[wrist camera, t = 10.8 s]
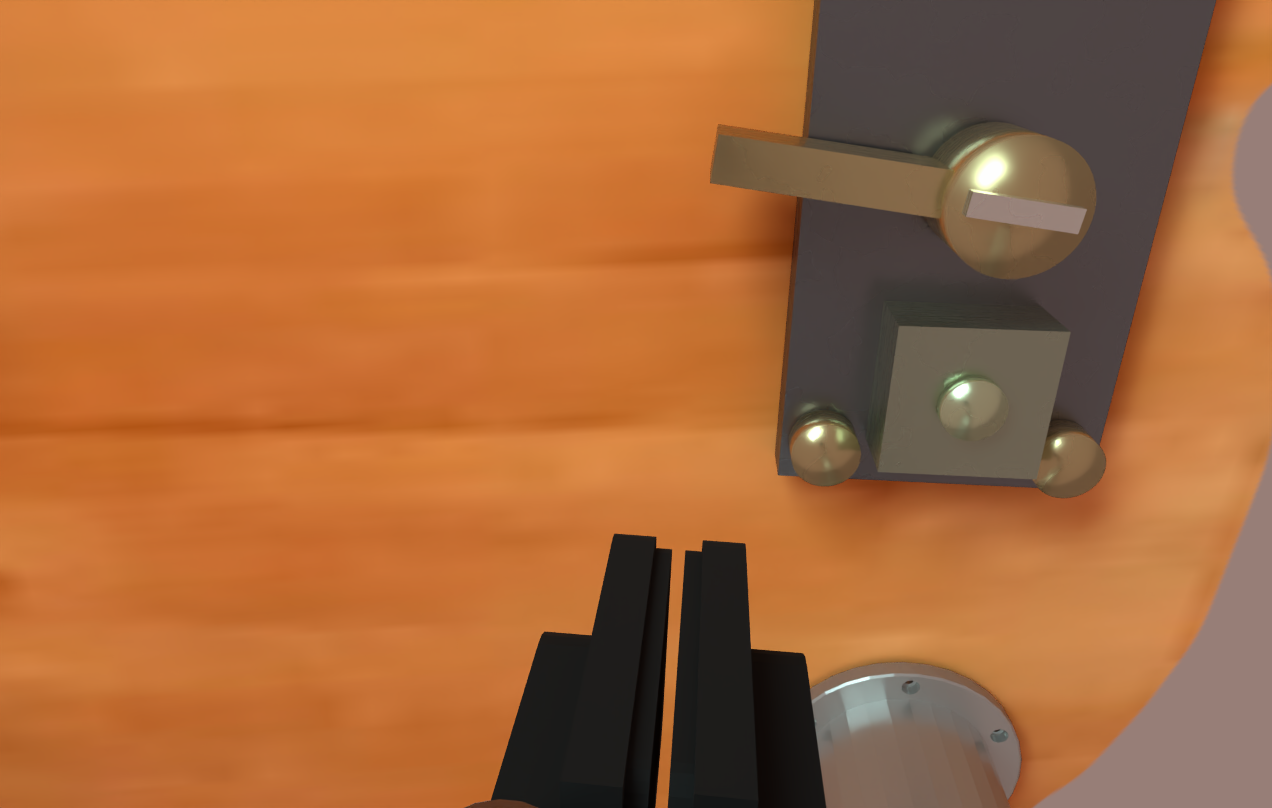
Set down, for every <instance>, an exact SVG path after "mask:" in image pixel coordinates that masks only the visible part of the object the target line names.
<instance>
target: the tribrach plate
mask: <svg viewBox="0 0 1272 808" xmlns="http://www.w3.org/2000/svg"><path fill="white" fill-rule="evenodd" d="M1215 3H1216V0H814V11H813V23H812V34H811V46H810V57H809V69H808V80H807V92H806V103H805V115H804V126H803V137H805V138H812V139H818V140H825V141H831V142H838V143H844V144H851V145H857V146H864V147H870V148H877V149H883V150H890V151H896V152H903V153H909V154H916V155H922V156H929V157H933V155H934V154H935V152H936V151H937V150H938V149H939V147H940V146H941V145H943V144H944V143H945V142H946V141H947V140H948V139H949V138H951V137H952V136H953V135H955V134H956V133H958V132H960V131H961V130H964V129H966V128H968V127H970V126H974V125H977V124H981V123H986V122H1004V123H1009V124H1013V125H1016V126H1019V127H1022V128H1025V129H1028V130H1031V131H1034V132H1036V133H1039V134H1042V135H1045V136H1048V137H1051V138H1054V139H1056V140H1059V141H1062V142H1064V143H1066V144H1067V145H1069V146H1071V147H1072V148H1073V149H1075V150H1076V151H1077V152H1078V153H1079V154H1080V155H1081V156H1082V157H1083V158H1084V159H1085V161H1086V162H1087V164H1088V166H1089V167H1090V169H1091V172H1092V174H1093V177H1094V181H1095V185H1096V207H1095V212H1094V216H1093V219H1092V222H1091V224H1090V227H1089V229H1088V231H1087V233H1086V234H1085V236H1084V238H1083V239H1082V241H1081V242H1080V243H1079V245H1078V246H1077V247H1076V248H1075V249H1074V250H1073V251H1072V253H1071V254H1070V255H1068V256H1067V257H1066V258H1065V259H1064V260H1063V261H1061V262H1060V263H1058V264H1057V265H1055V266H1054V267H1052V268H1050V269H1048V270H1046V271H1044V272H1042V273H1039V274H1037V275H1034V276H1030V277H1026V278H1020V279H999V278H994V277H990V276H987V275H984V274H982V273H980V272H978V271H976V270H974V269H973V268H971V267H970V266H969V265H967V264H966V263H965V262H964V261H963V260H962V259H961V258H960V257H959V256H958V255H957V254H956V253H955V252H954V251H953V250H952V249H951V248H950V247H949V246H948V245H947V244H946V243H944V242H943V241H942V240H941V239H940V238H939V237H938V236H937V235H936V234H935V233H934V232H933V231H932V229H931V228H930V227H929V225H928V223H927V222H926V220H925V218H924V216H919V215H913V214H906V213H900V212H893V211H887V210H881V209H874V208H868V207H861V206H855V205H848V204H842V203H836V202H829V201H823V200H816V199H810V198H803V197H797V207H796V218H795V230H794V241H793V253H792V264H791V276H790V287H789V299H788V310H787V322H786V333H785V345H784V356H783V368H782V379H781V391H780V402H779V414H778V425H777V437H776V448H775V457H776V464H777V472H778V475H784V476H799V477H801V478H802V479H803V480H804V481H806V482H808V483H810V484H813V485H817V486H832V485H836V484H839V483H842V482H844V481H845V480H847V479H867V480H887V481H908V482H928V483H949V484H970V485H990V486H1011V487H1031V488H1039V489H1040V490H1041V491H1042V492H1044V493H1045V494H1047V495H1049V496H1052V497H1056V498H1071V497H1075V496H1078V495H1081V494H1083V493H1085V492H1087V491H1089V490H1090V489H1092V488H1093V487H1094V486H1095V485H1096V484H1097V483H1098V482H1099V481H1100V479H1101V478H1102V476H1103V474H1104V471H1105V467H1106V457H1105V454H1104V452H1103V450H1102V449H1101V447H1100V446H1099V445H1100V441H1101V437H1102V433H1103V430H1104V426H1105V422H1106V418H1107V414H1108V411H1109V407H1110V403H1111V399H1112V395H1113V392H1114V388H1115V384H1116V380H1117V376H1118V372H1119V369H1120V365H1121V361H1122V357H1123V353H1124V350H1125V346H1126V342H1127V338H1128V334H1129V331H1130V327H1131V323H1132V319H1133V315H1134V311H1135V308H1136V304H1137V300H1138V296H1139V292H1140V289H1141V285H1142V281H1143V277H1144V273H1145V270H1146V266H1147V262H1148V258H1149V254H1150V251H1151V247H1152V243H1153V239H1154V235H1155V231H1156V228H1157V224H1158V220H1159V216H1160V212H1161V209H1162V205H1163V201H1164V197H1165V193H1166V190H1167V186H1168V182H1169V178H1170V174H1171V170H1172V167H1173V163H1174V159H1175V155H1176V151H1177V148H1178V144H1179V140H1180V136H1181V132H1182V129H1183V125H1184V121H1185V117H1186V113H1187V110H1188V106H1189V102H1190V98H1191V94H1192V90H1193V87H1194V83H1195V79H1196V75H1197V71H1198V68H1199V64H1200V60H1201V56H1202V52H1203V49H1204V45H1205V41H1206V37H1207V33H1208V29H1209V26H1210V22H1211V18H1212V14H1213V10H1214V7H1215Z"/></svg>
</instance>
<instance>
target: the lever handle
mask: <svg viewBox="0 0 1272 808" xmlns="http://www.w3.org/2000/svg"><path fill="white" fill-rule="evenodd" d="M710 183H713V184H720V185H726V186H733V187H739V188H745V189H752V190H758V191H765V192H771V193H778V194H784V195H790V196H797V197H803V198H810V199H816V200H823V201H829V202H836V203H842V204H848V205H855V206H861V207H868V208H874V209H881V210H887V211H893V212H900V213H906V214H913V215H919V216H924V218H925V220H926V222H927V223H928V225H929V227H930V228H931V229H932V231H933V232H934V233H935V234H936V235H937V236H938V237H939V238H940V239H941V240H942V241H943V242H944V243H946V244H947V245H948V246H949V247H950V248H951V249H952V250H953V251H954V252H955V253H956V254H957V255H958V256H959V257H960V258H961V259H962V260H963V261H964V262H965V263H966V264H967V265H969V266H970V267H971V268H973V269H974V270H976V271H978V272H980V273H982V274H984V275H987V276H990V277H994V278H999V279H1020V278H1026V277H1030V276H1034V275H1037V274H1039V273H1042V272H1044V271H1046V270H1048V269H1050V268H1052V267H1054V266H1055V265H1057V264H1058V263H1060V262H1061V261H1063V260H1064V259H1065V258H1066V257H1067V256H1068V255H1070V254H1071V253H1072V251H1073V250H1074V249H1075V248H1076V247H1077V246H1078V245H1079V243H1080V242H1081V241H1082V239H1083V238H1084V236H1085V234H1086V233H1087V231H1088V229H1089V227H1090V224H1091V222H1092V219H1093V216H1094V212H1095V207H1096V185H1095V181H1094V177H1093V174H1092V172H1091V169H1090V167H1089V166H1088V164H1087V162H1086V161H1085V159H1084V158H1083V157H1082V156H1081V155H1080V154H1079V153H1078V152H1077V151H1076V150H1075V149H1073V148H1072V147H1071V146H1069V145H1067V144H1066V143H1064V142H1062V141H1059V140H1056V139H1054V138H1051V137H1048V136H1045V135H1042V134H1039V133H1036V132H1034V131H1031V130H1028V129H1025V128H1022V127H1019V126H1016V125H1013V124H1009V123H1004V122H986V123H981V124H977V125H974V126H970V127H968V128H966V129H964V130H961V131H960V132H958V133H956V134H955V135H953V136H952V137H951V138H949V139H948V140H947V141H946V142H945V143H944V144H943V145H941V146H940V147H939V149H938V150H937V151H936V152H935V154H934V155H933V157H929V156H922V155H916V154H909V153H903V152H896V151H890V150H883V149H877V148H870V147H864V146H857V145H851V144H844V143H838V142H831V141H825V140H818V139H812V138H805V137H799V136H792V135H786V134H780V133H773V132H767V131H760V130H754V129H747V128H741V127H734V126H728V125H721V124H718V127H717V133H716V139H715V145H714V151H713V157H712V163H711V168H710Z"/></svg>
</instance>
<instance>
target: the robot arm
mask: <svg viewBox="0 0 1272 808" xmlns="http://www.w3.org/2000/svg"><path fill="white" fill-rule="evenodd" d="M671 560H672V549H660V548H656V537H652V536H638V535H625V534H614V536H613V540H612V544H611V549H610V554H609V558H608V563H607V567H606V572H605V577H604V581H603V586H602V590H601V595H600V600H599V604H598V609H597V613H596V618H595V623H594V627H593V632H592V636H591V635H579V634H567V633H555V632H544V633H543V634H542V636H541V638H540V641H539V643H538V647H537V650H536V653H535V657H534V660H533V663H532V666H531V670H530V673H529V676H528V680H527V683H526V686H525V690H524V693H523V696H522V699H521V703H520V706H519V709H518V713H517V716H516V719H515V723H514V726H513V729H512V732H511V736H510V739H509V742H508V746H507V749H506V752H505V756H504V759H503V762H502V765H501V769H500V772H499V775H498V779H497V782H496V785H495V789H494V792H493V795H492V798H491V801H485V802H479V803H474V804H472V805H470V806H467V807H465V808H655V806H656V794H657V782H658V771H659V759H660V747H661V735H662V721H663V704H664V686H665V668H666V650H667V632H668V614H669V596H670V578H671ZM1021 761H1022V758H1021V751H1020V744H1019V740H1018V738H1017V735H1016V733H1015V730H1014V728H1013V725H1012V722H1011V721H1010V719H1009V717H1008V715H1007V714H1006V712H1005V710H1004V709H1003V707H1002V705H1001V704H1000V703H999V702H998V701H997V700H996V699H995V698H994V697H993V696H992V695H991V694H990V693H989V692H988V691H987V690H985V689H984V688H982V687H981V686H979V685H978V684H976V683H975V682H974V681H972V680H971V679H968V678H966V677H964V676H962V675H959V674H957V673H955V672H953V671H950V670H947V669H943V668H939V667H935V666H931V665H927V664H917V663H907V662H894V663H877V664H872V665H867V666H862V667H857V668H853V669H850V670H847V671H845V672H842V673H839V674H836V675H834V676H831V677H830V678H828V679H826V680H824V681H822V682H821V683H819V684H817V685H815V686H813V687H812V688H811V689H810V685H809V678H808V671H807V664H806V659H805V656H804V654H803V653H793V652H781V651H769V650H757V649H751V642H750V622H749V602H748V582H747V562H746V545H745V544H744V543H731V542H718V541H705V540H703V544H702V552H700V551H685V565H684V580H683V594H682V609H681V623H680V638H679V652H678V667H677V681H676V696H675V710H674V725H673V739H672V754H671V768H670V783H669V798H668V808H1010V805H1009V803H1008V799H1009V798H1010V796H1011V795H1012V793H1013V791H1014V789H1015V786H1016V784H1017V781H1018V779H1019V776H1020V768H1021Z"/></svg>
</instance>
